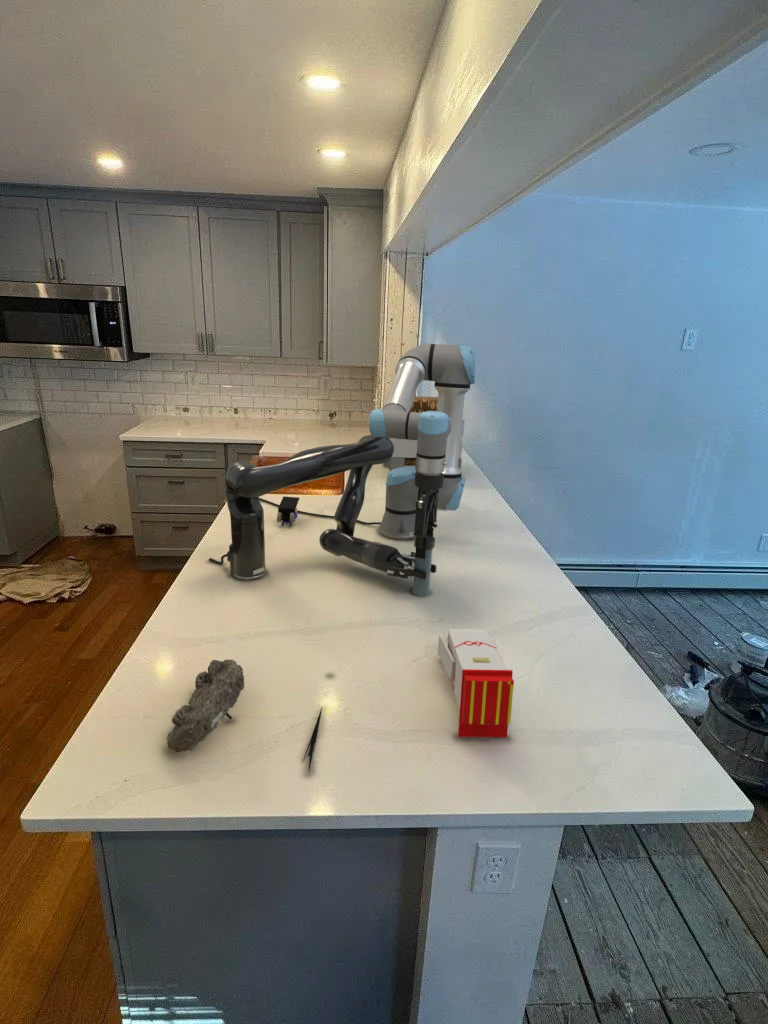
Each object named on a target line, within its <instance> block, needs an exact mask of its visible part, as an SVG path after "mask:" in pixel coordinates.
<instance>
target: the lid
mask: <svg viewBox="0 0 768 1024" xmlns="http://www.w3.org/2000/svg"><path fill="white" fill-rule="evenodd" d="M426 536H427V544H426V550H429V549H433V550H434V548H435V544H436V538H435V537H434V535H433V536H431V535H426ZM413 540H414V542H413V547H414V548H416V536H415V539H413Z"/></svg>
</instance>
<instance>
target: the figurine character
mask: <svg viewBox="0 0 768 1024" xmlns="http://www.w3.org/2000/svg"><path fill="white" fill-rule="evenodd" d="M299 500H300V497H297V496H285V495H284V496H283V497H282V498H281V501H280V503H279V504H278V505H279V507H278V506H277V514H276V515H277V516H276V523H281V524H280V526H281V527H284V525H285V524H289V526H288V527H292V525H293V523H295V521H296V519H297V518H298V517H299V516H298V512H297V510H298V508H297V506H298V503H299Z"/></svg>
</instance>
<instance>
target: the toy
mask: <svg viewBox="0 0 768 1024" xmlns="http://www.w3.org/2000/svg"><path fill="white" fill-rule="evenodd" d="M446 640H447V643H446V641H445V639H444V636H443V635H442V634H439V637H438V646H437V656H438V657H439V659H440V661H441V663H442V666H443V668H444V670H445V672H446V674H447V677H448V679H449V681H450V684H451V687H452V690H453V693H454V697H455V701H456V705H457V708H458V711H459V714H458V715H459V716H458V730H457V731H458V732H457V737H458V738H508V731H509V726H510V725H511V717H512V707H513V697H514V696H513V695H514V684H515V680H514V679H513V673H514V671H513V670H512V669H508V667H507V665H506V662H505V661H504V659H503V658H502V655H501V653H500V651H499V649H498V647H497V643H496V639H495V637H494V635H493V634H491V632H490V631H489V629H467V628H466V629H465V628H463V629H461V628H460V629H459V628H448V630H447V639H446Z"/></svg>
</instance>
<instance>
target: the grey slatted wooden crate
mask: <svg viewBox="0 0 768 1024" xmlns="http://www.w3.org/2000/svg"><path fill="white" fill-rule="evenodd" d="M437 404H438V396H416V395H415V396H414V399H413V402H412V405H411V408H410V411H409V412H417V413H422V412H426V411H437ZM464 429H465V419H464V418H462V428H461V439H460V450H459V460H458V467H459V469H460V470H461V471H462V461H463V460H462V453H463V442H464V441H463V440H462V439H463V438H464V431H465V430H464ZM389 439H390V440H391V441H392V443H393V445H394V453H393V455H392V457H391V458H390V459H389V460H388V461H387V462H385V463H383V464H382V465H383V466H384V467H388V468H389V472H390V471H391V470H393V469H396V468H400V467H405V466H406V467H415V465H416V454H417V440H408V439H396V438H389Z"/></svg>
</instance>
